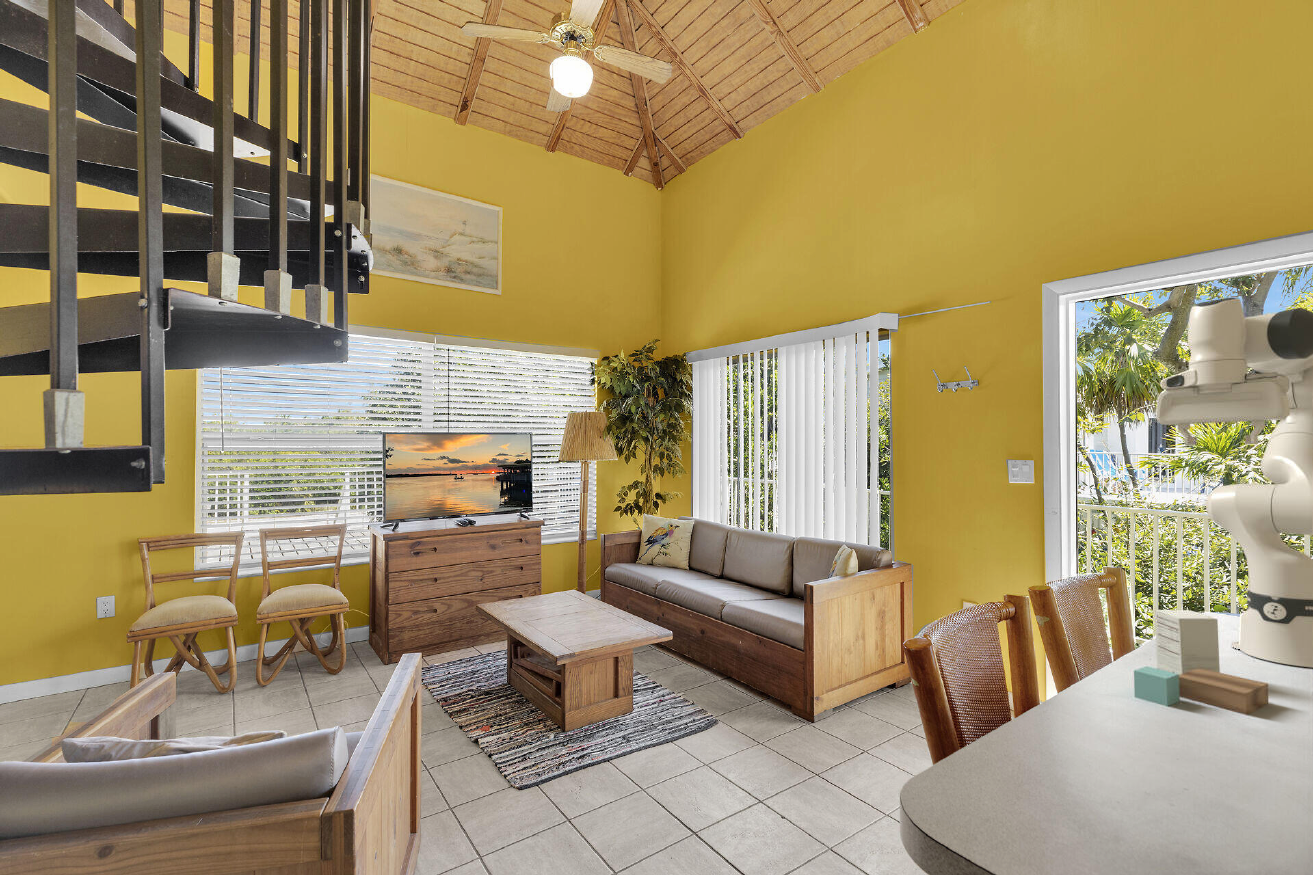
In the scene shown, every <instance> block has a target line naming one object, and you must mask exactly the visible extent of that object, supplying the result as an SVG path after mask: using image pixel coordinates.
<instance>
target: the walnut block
mask: <svg viewBox="0 0 1313 875" xmlns="http://www.w3.org/2000/svg"><path fill="white" fill-rule="evenodd" d="M1179 693H1180V698H1183V699H1186V700H1190V701H1194V702H1196V703H1197V702H1198V703H1200V704H1203V705H1208V706H1212V707H1215V708H1218V709H1219V708H1220V709H1222V710H1227V711H1230V712H1234V713H1238V714H1241V715H1244V716H1246V715H1250V714H1251V713H1253V712H1255V711H1257V710H1259V709H1262V708H1264V707H1266V706H1268V705H1269V684H1268V683H1267V682H1262V681H1259V680H1254V679H1249V678H1244V677H1240V676H1236V675H1231V674H1227V673H1223V672H1220V673H1219V672H1215V671H1211V670H1206V669H1202V668H1197V669H1194V670H1191V671H1188V672H1186V673H1183V674H1180V675H1179Z"/></svg>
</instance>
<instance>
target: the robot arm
mask: <svg viewBox="0 0 1313 875" xmlns="http://www.w3.org/2000/svg"><path fill="white" fill-rule="evenodd" d="M1187 324H1188V327H1187V345H1188V348H1189V351H1190V359H1189V361H1188V369H1187V370H1184V371H1182V372H1180V373H1177V374H1174V375H1171V376H1168V377H1166V378H1163V379H1161V381H1160V387H1161V389H1162V390H1163V389H1164V390H1163V391H1161V392H1160V393H1159V395H1158V397H1157V401H1156V409H1155V410H1156V411H1155V412H1156V414H1155V415H1156V416H1155V417H1156V421H1157V422H1158V423H1160V425H1163V426H1164V425H1166V426H1168V425H1171V426H1172V425H1173V426H1174V425H1177V430H1178V431H1179V433H1180V434H1181V435H1182V437H1184V445H1185V446H1186V447H1187V446H1189V447H1190V446H1197V445H1198V442H1197V441H1198V437H1197V436H1192V434H1191V433H1190V432H1189V431H1188V430H1190V429H1191V424H1192V425H1193V424H1194V425H1195V424H1211V423H1213V424H1214V423H1215V424H1217V423H1233V422H1234V423H1236V422H1237V423H1238V422H1241V423H1242V422H1251V423H1250V424H1251V427H1254V428H1253V430H1252V431H1251V432H1250V433H1249V434H1244V435H1243V437H1244V444H1245V445H1258V443H1259V440H1258V439H1259V437H1258V436H1259V435H1260V433H1261V432H1262V431H1263V430H1264V428H1265V427H1266V421H1279V422H1278V423H1277V424H1276V426H1275V428H1274V429H1273V431H1272V433H1271V434H1270V436H1269V438H1268V441H1267V444H1266V447H1265V450H1264V452H1263V456H1262V459H1261V461H1260V469H1261V472H1262V474H1263V475H1264V477H1266V478H1267V479H1268V480H1269V481H1271V482H1272V483H1273V484H1270V483H1269V484H1267V483H1235V484H1228V485H1221V486H1216V487H1215V488H1214V489H1213V490H1211V491H1210V493H1209V494H1208V496H1207V498H1206V501H1205V507H1206V508H1205V509H1206V512H1207V514H1208V516H1209V518H1210V519H1211V520H1212V521H1213V522H1214V523H1215V524H1216V525H1218V526H1220V528H1223V529H1224V530H1225V531H1227V532H1228V533H1229V534H1230V535H1232V537H1233V538H1234V539H1235V540H1236V542H1237V543H1238V544H1239V546H1240V547H1241V548H1242V549H1241V550H1242V551H1243V552H1244V555H1245V558H1246V559H1245V560H1246V563H1247V570H1248V582H1249V590H1247V595H1246V600H1247V606H1248V609H1247V610H1246V611H1243V612H1242V613H1240V615H1239V629H1238V630H1239V631H1238V632H1239V635H1238V637H1239V638H1238V641H1235V642H1233V641H1232V642H1231V643H1230V647H1231V648H1232V647H1234V648H1233V649H1235V648H1236V649H1235V650H1238V649H1240V650H1239V651H1241V652H1242V653H1244V654H1246V655H1249V656H1251V657H1253V658H1258V659H1261V660H1265V661H1268V662H1274V663H1278V664H1283V665H1289V666H1290V665H1291V666H1297V667H1306V668H1313V558H1311V557H1310V556H1309V555H1307V554H1306V553H1303V552H1302V551H1299V550H1297V549H1295V548H1292V547H1290V546H1289V545H1287V544H1286V543H1285V542H1284V541H1283V539H1282V537H1281V534H1294V535H1304V536H1305V535H1306V536H1313V312H1312V310H1308V309H1306V308H1303V307H1295V308H1291V309H1287V310H1281V311H1279V312H1273V313H1266V314H1265V313H1264V314H1260V315H1259V314H1258V315H1254V316H1245V314H1244V309H1243V306H1242V302H1241V299H1240V298H1236V297H1225V298H1220V299H1219V298H1218V299H1215V300H1209V301H1203V302H1199V303H1197V304H1196V303H1195V305H1193V306H1191V309H1190V312H1189V318H1188V323H1187ZM1248 367H1249V368H1251V369H1252V370H1251V371H1250V372H1248V370H1249V369H1248Z"/></svg>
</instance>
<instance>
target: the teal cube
mask: <svg viewBox="0 0 1313 875" xmlns="http://www.w3.org/2000/svg"><path fill="white" fill-rule="evenodd" d="M1133 678H1134V679H1133V680H1134V681H1133V682H1134V683H1133V684H1134V685H1133V687H1134V698H1137V699H1140V700H1144V701H1147V702H1149V703H1153V704H1157V705H1161V706H1164V707H1169V706H1171V705H1175V704H1176V703H1179V702H1181V697H1180V693H1179V674H1176V673H1172V672H1168V671H1164V670H1160V669H1158V668H1155V667H1152V666H1148V665H1146V666H1143V667H1140V668H1137V669H1135V670H1133Z"/></svg>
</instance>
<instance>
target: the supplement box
mask: <svg viewBox="0 0 1313 875" xmlns="http://www.w3.org/2000/svg"><path fill="white" fill-rule="evenodd" d="M1154 615H1155V617H1154V619H1155V641H1156V642H1155V643H1156V644H1155V645H1156V647H1155V648H1156V667H1157V668H1156V669H1160V670H1164V671H1168V672H1172V673H1176V674H1179V675H1180V674H1183V673H1186V672H1188V671H1191V670H1194V669H1197V668H1202V669H1206V670H1211V671H1215V672H1219V673H1221V671H1220V668H1221V667H1220V666H1221V665H1220V649H1219V647H1220V646H1219V626H1218V618H1216V617H1213V616H1210V615H1207V614H1204V613H1200V612H1197V611H1193V610H1189V609H1188V610H1186V609H1185V610H1184V609H1177V610H1176V609H1173V610H1172V609H1154Z"/></svg>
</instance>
